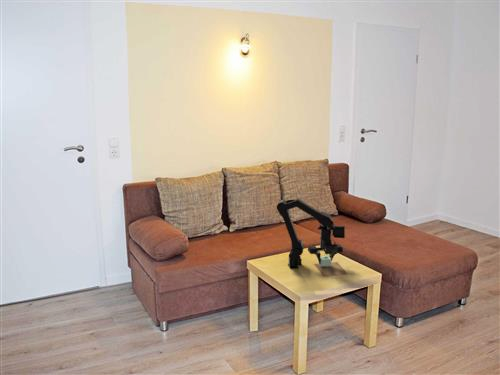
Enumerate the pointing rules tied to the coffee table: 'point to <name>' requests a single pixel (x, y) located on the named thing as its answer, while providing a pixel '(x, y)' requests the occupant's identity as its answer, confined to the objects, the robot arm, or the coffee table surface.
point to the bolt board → (331, 269)
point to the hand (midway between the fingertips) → (324, 263)
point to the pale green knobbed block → (325, 261)
